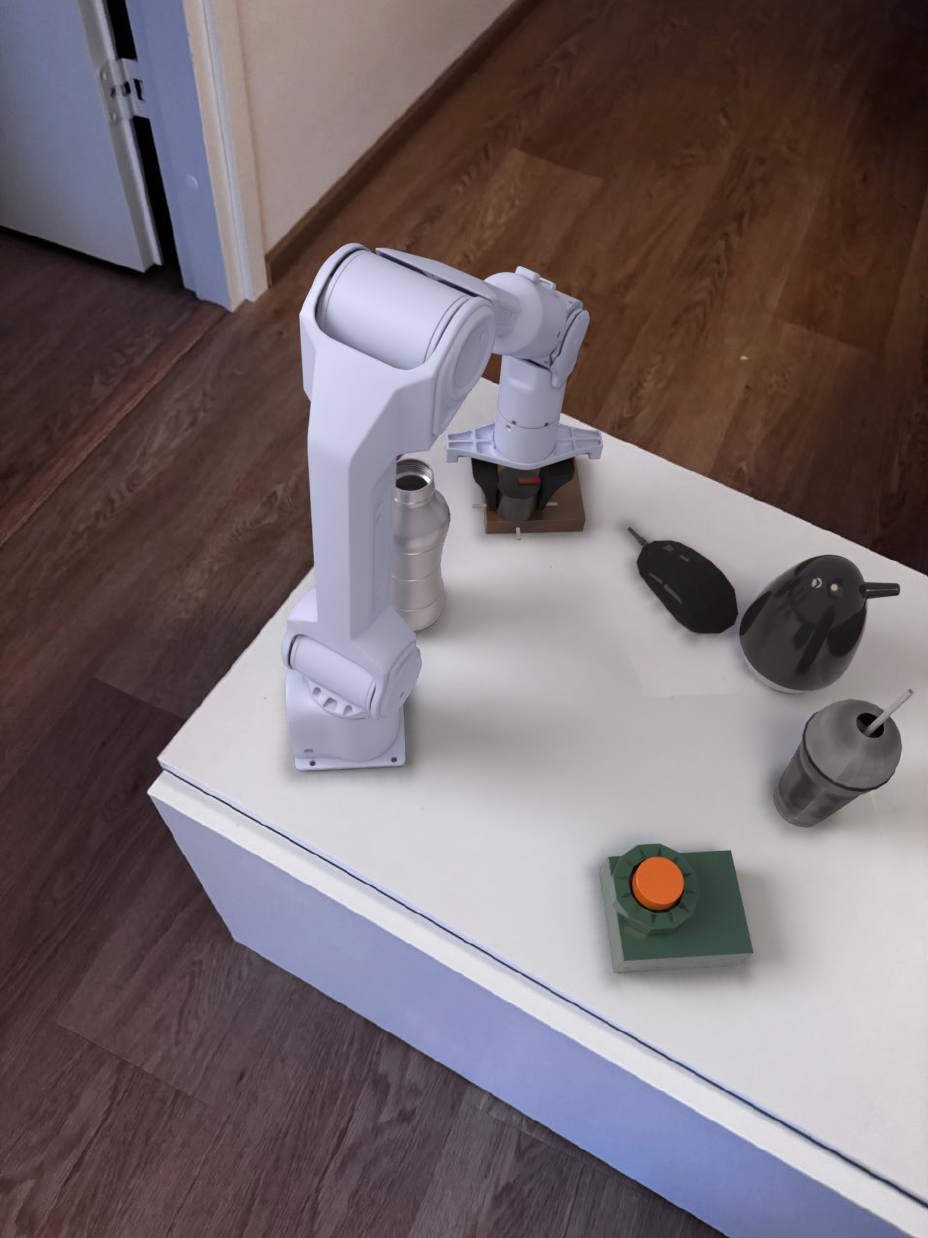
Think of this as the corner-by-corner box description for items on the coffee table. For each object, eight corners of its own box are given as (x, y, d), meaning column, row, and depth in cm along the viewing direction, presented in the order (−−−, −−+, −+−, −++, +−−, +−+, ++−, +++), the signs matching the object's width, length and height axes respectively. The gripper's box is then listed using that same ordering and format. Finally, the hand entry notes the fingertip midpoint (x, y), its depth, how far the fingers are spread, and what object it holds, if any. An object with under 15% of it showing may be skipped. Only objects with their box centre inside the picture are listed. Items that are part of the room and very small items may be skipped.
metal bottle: (367, 592, 94) (357, 453, 77) (434, 577, 95) (439, 436, 78) (384, 647, 91) (378, 515, 74) (453, 631, 92) (463, 497, 75)
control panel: (474, 552, 97) (475, 540, 95) (465, 459, 103) (466, 445, 102) (586, 549, 98) (589, 536, 96) (570, 457, 104) (573, 443, 102)
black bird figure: (838, 719, 89) (910, 633, 76) (724, 697, 90) (777, 608, 77) (837, 627, 94) (904, 532, 81) (730, 606, 95) (780, 509, 82)
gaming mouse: (652, 516, 100) (660, 491, 97) (748, 619, 94) (761, 597, 91) (604, 542, 98) (611, 518, 95) (699, 649, 92) (710, 627, 89)
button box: (610, 973, 76) (624, 955, 71) (595, 870, 80) (608, 846, 75) (738, 965, 77) (761, 947, 72) (716, 863, 81) (736, 839, 76)
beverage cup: (742, 778, 85) (824, 668, 68) (813, 753, 87) (910, 638, 70) (784, 854, 82) (882, 758, 65) (857, 826, 83) (971, 725, 66)
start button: (635, 911, 73) (640, 905, 72) (628, 865, 75) (632, 857, 74) (682, 909, 73) (688, 902, 72) (674, 862, 75) (679, 855, 74)
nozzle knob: (495, 523, 97) (498, 498, 93) (491, 488, 99) (494, 463, 96) (538, 521, 97) (543, 497, 94) (534, 487, 99) (538, 462, 96)
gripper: (603, 371, 89) (581, 470, 100) (445, 374, 88) (441, 473, 99) (615, 429, 85) (591, 524, 96) (449, 432, 84) (445, 528, 95)
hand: (515, 502), depth 97 cm, fingers closed on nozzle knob, 4 cm apart
